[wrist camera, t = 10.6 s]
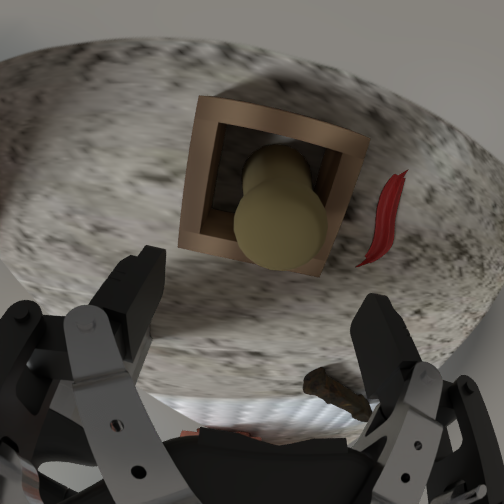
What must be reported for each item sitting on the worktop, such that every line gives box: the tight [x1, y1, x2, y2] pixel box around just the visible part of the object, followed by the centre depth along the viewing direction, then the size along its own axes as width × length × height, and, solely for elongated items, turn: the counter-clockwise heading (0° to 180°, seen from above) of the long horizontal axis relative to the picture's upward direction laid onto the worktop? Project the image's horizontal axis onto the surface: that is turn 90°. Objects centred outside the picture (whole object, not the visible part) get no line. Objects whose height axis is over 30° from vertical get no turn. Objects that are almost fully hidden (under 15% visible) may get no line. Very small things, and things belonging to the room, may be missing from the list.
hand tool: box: [303, 367, 372, 422], centre depth 38 cm, size 19×4×5 cm, turn 43°
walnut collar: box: [178, 96, 370, 277], centre depth 21 cm, size 12×12×5 cm
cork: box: [234, 144, 328, 271], centre depth 19 cm, size 6×6×11 cm
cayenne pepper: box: [356, 169, 409, 267], centre depth 24 cm, size 12×5×2 cm, turn 154°
